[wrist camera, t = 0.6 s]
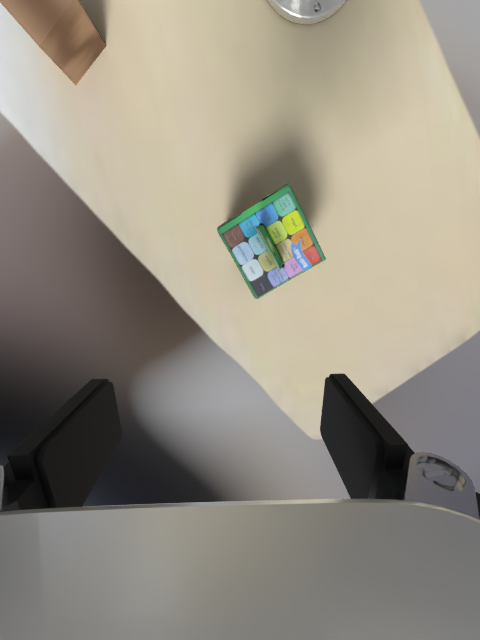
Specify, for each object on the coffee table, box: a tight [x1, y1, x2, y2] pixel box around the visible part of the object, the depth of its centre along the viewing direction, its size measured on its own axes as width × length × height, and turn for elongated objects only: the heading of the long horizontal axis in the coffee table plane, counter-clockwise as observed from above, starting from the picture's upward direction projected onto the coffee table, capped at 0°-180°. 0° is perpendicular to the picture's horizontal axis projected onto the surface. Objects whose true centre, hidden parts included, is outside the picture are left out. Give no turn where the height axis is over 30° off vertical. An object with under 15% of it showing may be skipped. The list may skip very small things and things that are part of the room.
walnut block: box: [0, 0, 106, 85], centre depth 26 cm, size 6×6×6 cm
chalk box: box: [217, 184, 326, 299], centre depth 29 cm, size 9×9×15 cm
